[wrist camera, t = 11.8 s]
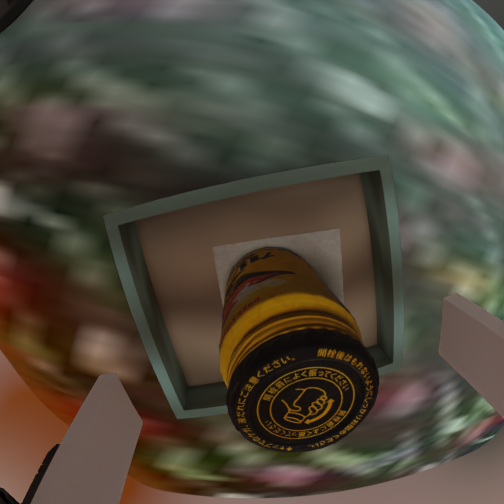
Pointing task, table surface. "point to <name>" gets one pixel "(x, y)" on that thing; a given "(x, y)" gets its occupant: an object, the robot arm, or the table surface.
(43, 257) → the table surface
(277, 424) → the condiment
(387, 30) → the table surface
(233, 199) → the shallow square tray
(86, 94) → the table surface
